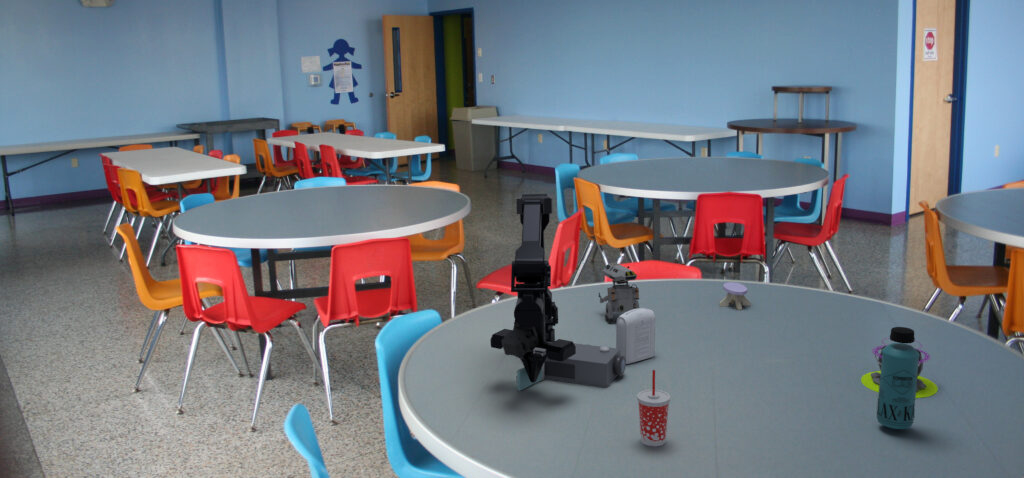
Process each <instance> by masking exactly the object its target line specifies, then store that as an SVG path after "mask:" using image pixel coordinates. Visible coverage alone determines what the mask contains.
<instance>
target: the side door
mask: <svg viewBox="0 0 1024 478" xmlns="http://www.w3.org/2000/svg"><path fill="white" fill-rule="evenodd" d="M544 380H545V379H544V364H543V366H542V368H541V371H540V373H539V376H538V378H537V380H536V382H534V383H533V382H530V379H529V377H528V374H527V372H526V369H525V367H524V366H523V367H521V368H520V369H517V370H516V376H515V382H516V385H517V386H516V388H517V390H518V391H522V390H524V389H526V388H528V387H530V386H532V385H534V384H537V383H539V382H540V381H544Z"/></svg>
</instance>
